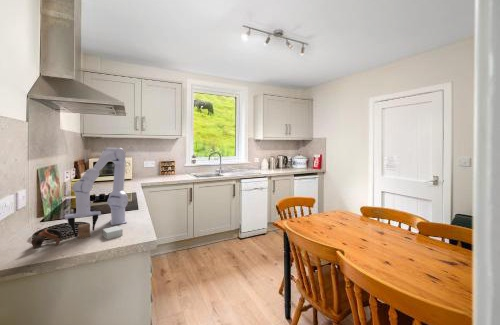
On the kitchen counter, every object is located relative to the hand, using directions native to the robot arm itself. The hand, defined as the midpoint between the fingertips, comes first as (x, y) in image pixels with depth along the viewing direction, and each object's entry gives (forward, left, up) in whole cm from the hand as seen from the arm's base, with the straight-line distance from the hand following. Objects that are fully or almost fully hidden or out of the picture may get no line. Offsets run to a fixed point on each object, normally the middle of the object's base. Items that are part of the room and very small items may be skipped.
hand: (84, 231), depth 118 cm
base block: (+6, +12, -3) cm, 14 cm away
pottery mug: (+4, -14, -3) cm, 15 cm away
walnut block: (0, 0, -3) cm, 3 cm away
